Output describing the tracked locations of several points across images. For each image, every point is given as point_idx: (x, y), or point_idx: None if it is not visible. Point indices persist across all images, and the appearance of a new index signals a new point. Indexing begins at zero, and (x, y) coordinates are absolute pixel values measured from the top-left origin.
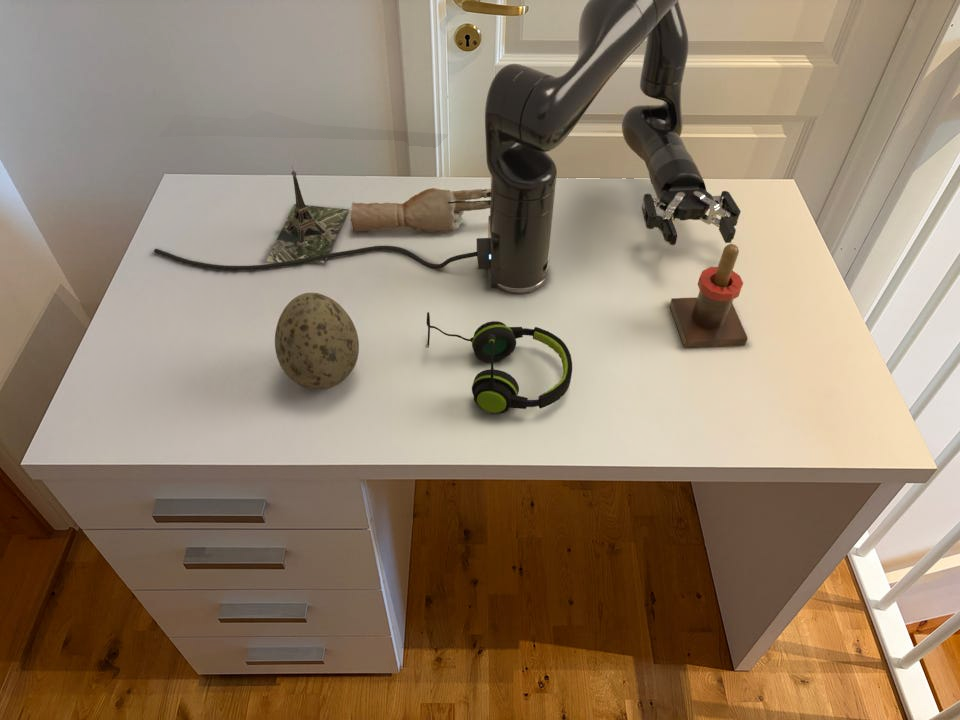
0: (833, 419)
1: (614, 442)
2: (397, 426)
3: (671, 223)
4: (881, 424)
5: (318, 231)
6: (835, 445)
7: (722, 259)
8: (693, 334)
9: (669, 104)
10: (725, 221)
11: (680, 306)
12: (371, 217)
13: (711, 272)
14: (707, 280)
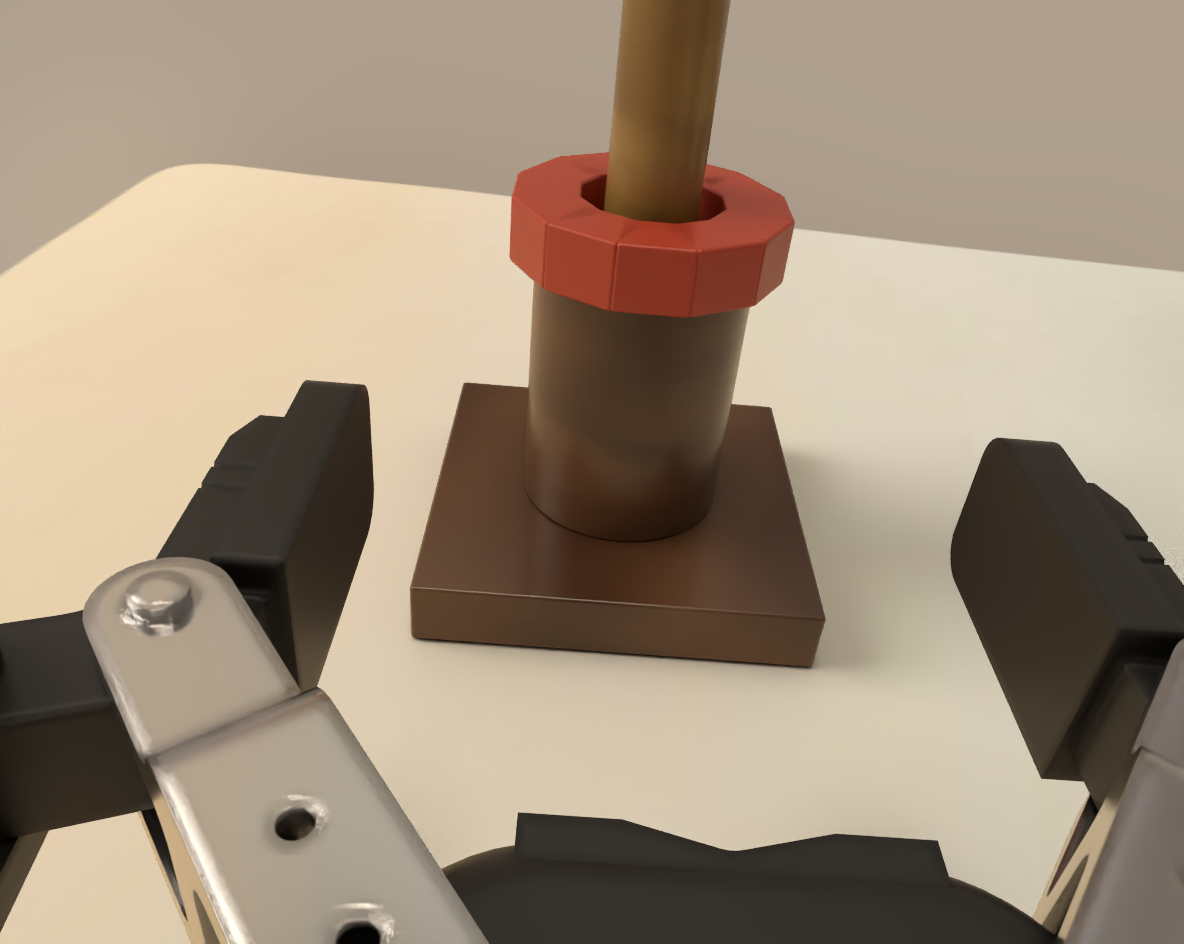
0: (324, 232)
1: (1019, 275)
2: None
3: (1106, 558)
4: (187, 210)
5: None
6: (379, 201)
7: None
8: (731, 423)
9: None
10: (291, 501)
11: (772, 561)
12: None
13: (703, 228)
14: (748, 202)
